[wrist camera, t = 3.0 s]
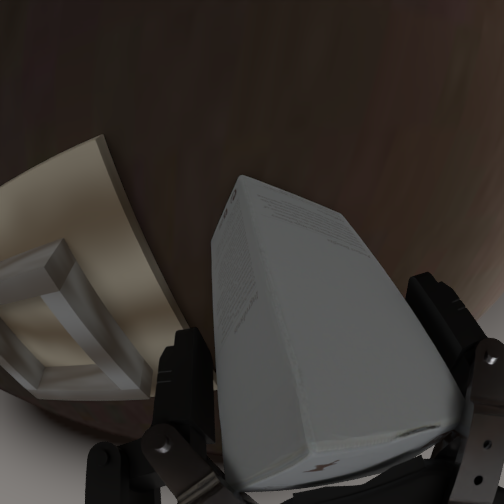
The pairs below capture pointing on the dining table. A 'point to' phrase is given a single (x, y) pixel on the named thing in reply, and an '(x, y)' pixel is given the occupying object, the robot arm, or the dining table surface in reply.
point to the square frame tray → (80, 283)
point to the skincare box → (316, 350)
